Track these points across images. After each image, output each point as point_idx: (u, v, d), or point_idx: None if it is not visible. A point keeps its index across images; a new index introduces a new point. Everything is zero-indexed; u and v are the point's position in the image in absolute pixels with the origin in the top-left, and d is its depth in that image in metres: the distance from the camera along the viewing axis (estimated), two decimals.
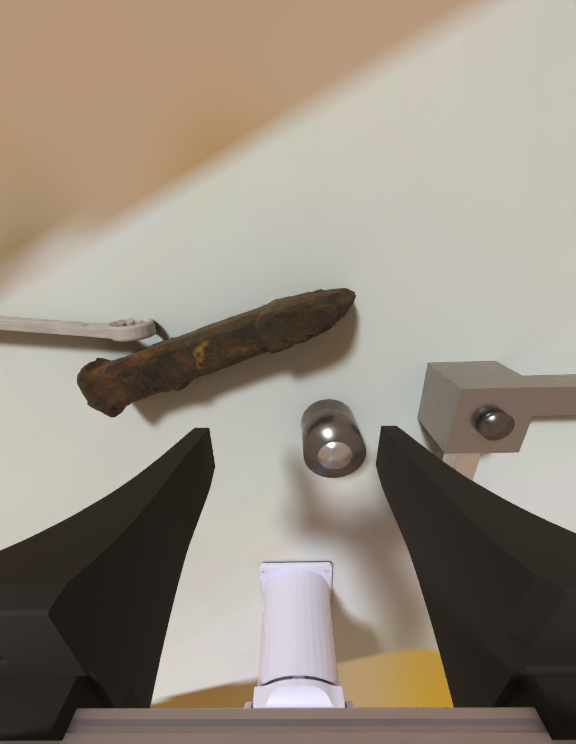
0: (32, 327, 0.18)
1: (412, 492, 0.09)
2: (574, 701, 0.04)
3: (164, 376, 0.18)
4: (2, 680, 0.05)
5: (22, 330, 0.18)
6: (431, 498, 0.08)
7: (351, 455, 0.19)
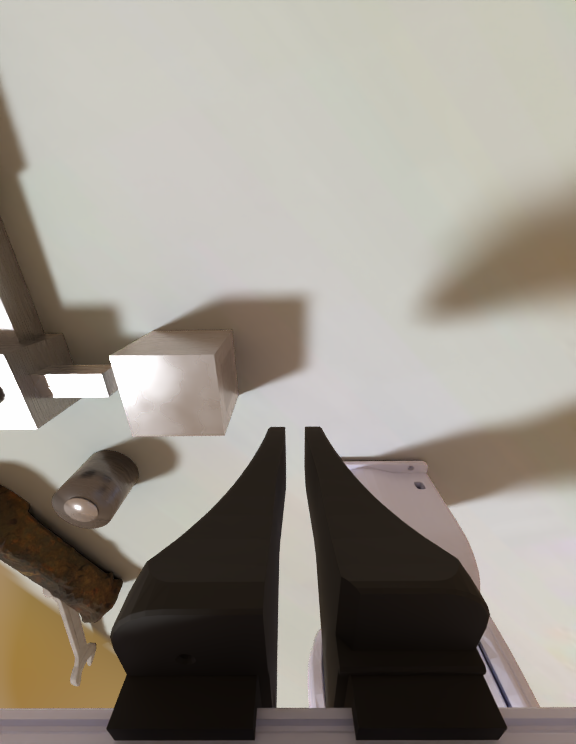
0: (64, 621, 0.30)
1: (314, 492, 0.09)
2: (381, 701, 0.04)
3: (55, 588, 0.26)
4: (182, 679, 0.05)
5: (68, 625, 0.31)
6: (319, 499, 0.08)
7: (75, 499, 0.20)
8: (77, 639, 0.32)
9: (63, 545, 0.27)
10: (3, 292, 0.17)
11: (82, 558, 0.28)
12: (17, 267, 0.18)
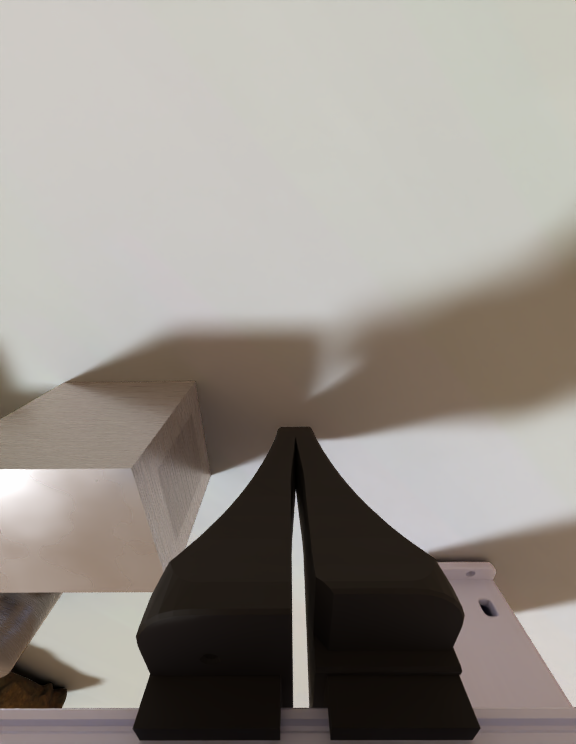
0: None
1: (302, 493, 0.09)
2: (356, 701, 0.04)
3: None
4: (205, 679, 0.05)
5: None
6: (305, 499, 0.08)
7: None
8: None
9: None
10: None
11: None
12: None
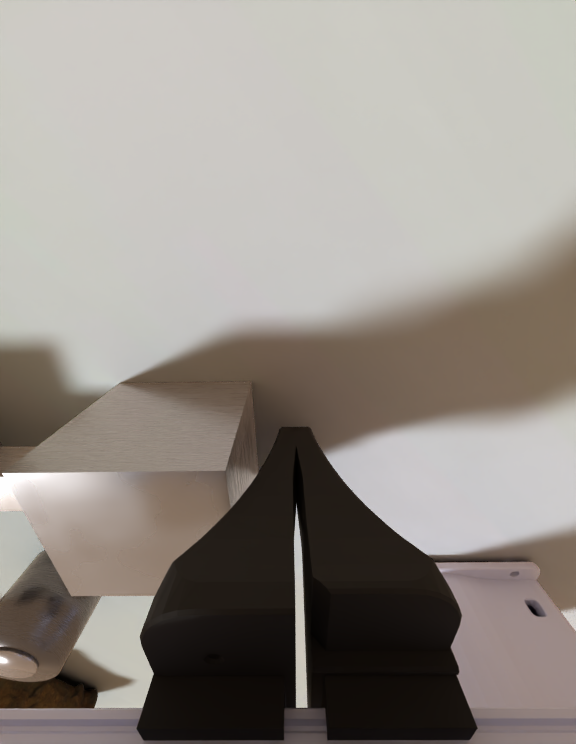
0: None
1: (300, 492, 0.09)
2: (353, 701, 0.04)
3: None
4: (209, 679, 0.05)
5: None
6: (303, 499, 0.08)
7: None
8: None
9: None
10: None
11: None
12: None
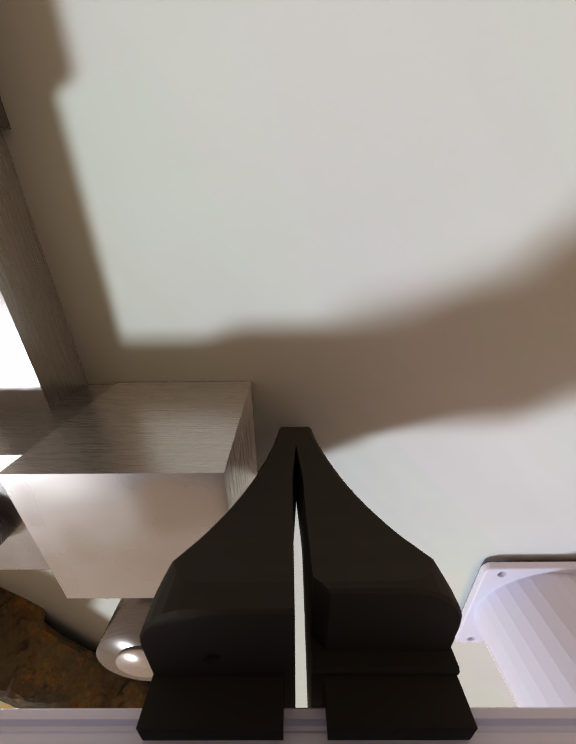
0: None
1: (300, 493, 0.09)
2: (354, 701, 0.04)
3: None
4: (209, 679, 0.05)
5: None
6: (303, 499, 0.08)
7: (136, 652, 0.12)
8: None
9: (94, 662, 0.19)
10: (24, 323, 0.09)
11: None
12: (47, 275, 0.10)
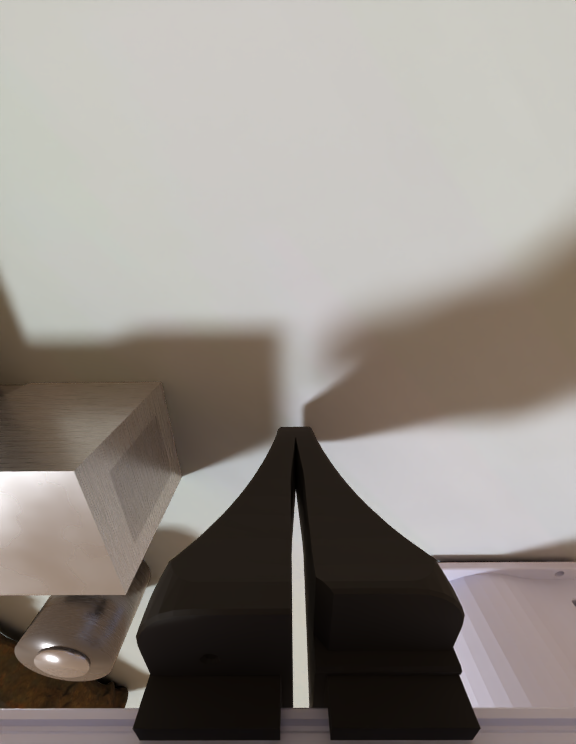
0: None
1: (302, 492, 0.09)
2: (356, 701, 0.04)
3: None
4: (206, 679, 0.05)
5: None
6: (305, 499, 0.08)
7: (52, 652, 0.12)
8: None
9: None
10: None
11: None
12: None
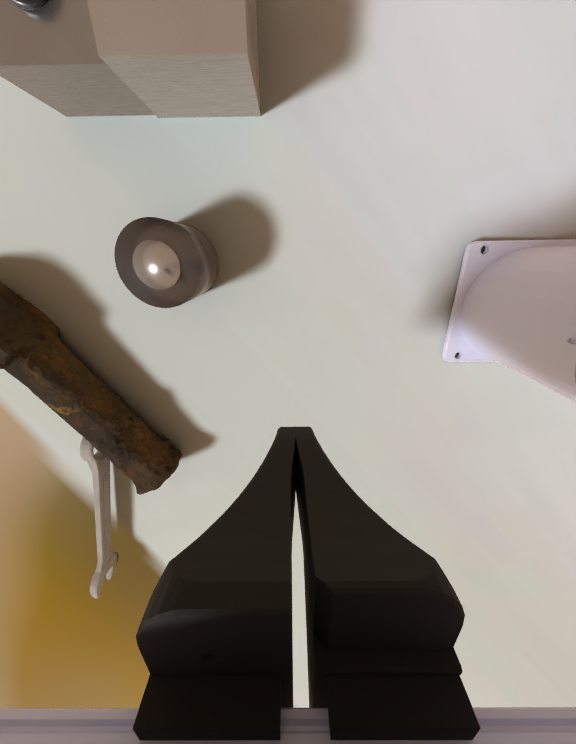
0: (95, 504, 0.24)
1: (302, 492, 0.09)
2: (356, 701, 0.04)
3: (101, 435, 0.19)
4: (205, 679, 0.05)
5: (99, 510, 0.24)
6: (305, 499, 0.08)
7: (151, 240, 0.14)
8: (105, 535, 0.26)
9: (105, 387, 0.20)
10: None
11: (130, 411, 0.21)
12: None
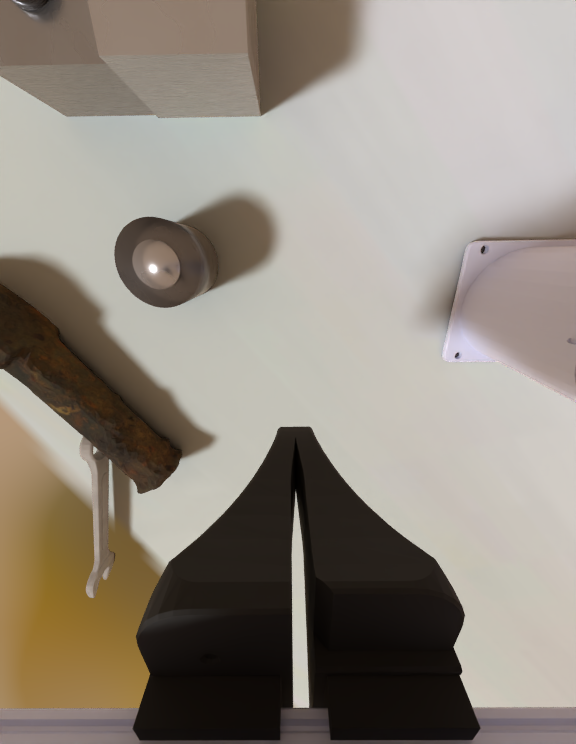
0: (93, 504, 0.24)
1: (302, 492, 0.09)
2: (356, 701, 0.04)
3: (101, 435, 0.19)
4: (205, 679, 0.05)
5: (97, 510, 0.24)
6: (305, 499, 0.08)
7: (151, 239, 0.14)
8: (102, 535, 0.26)
9: (105, 387, 0.20)
10: None
11: (130, 410, 0.22)
12: None
